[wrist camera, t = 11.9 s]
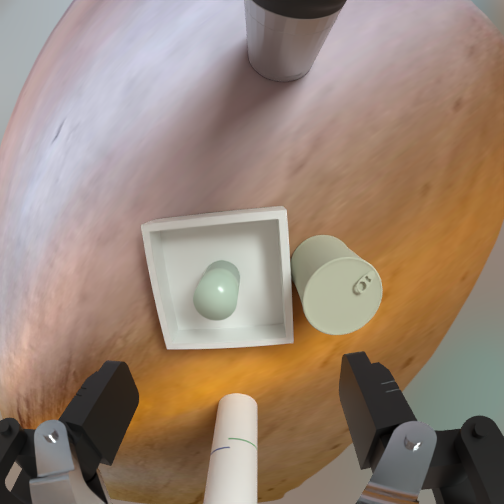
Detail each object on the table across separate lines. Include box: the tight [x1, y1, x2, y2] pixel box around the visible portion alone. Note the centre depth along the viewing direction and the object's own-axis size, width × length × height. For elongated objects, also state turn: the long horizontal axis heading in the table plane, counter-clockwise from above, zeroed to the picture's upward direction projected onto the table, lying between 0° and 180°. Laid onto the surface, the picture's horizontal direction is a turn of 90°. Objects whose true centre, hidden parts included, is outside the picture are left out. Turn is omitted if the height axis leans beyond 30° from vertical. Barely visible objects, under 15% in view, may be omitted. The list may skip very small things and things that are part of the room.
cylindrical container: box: [203, 393, 257, 504], centre depth 35 cm, size 7×7×25 cm
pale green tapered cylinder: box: [193, 260, 240, 321], centre depth 36 cm, size 5×5×8 cm
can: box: [290, 235, 382, 335], centre depth 34 cm, size 9×9×12 cm
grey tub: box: [141, 206, 294, 349], centre depth 38 cm, size 18×18×5 cm
